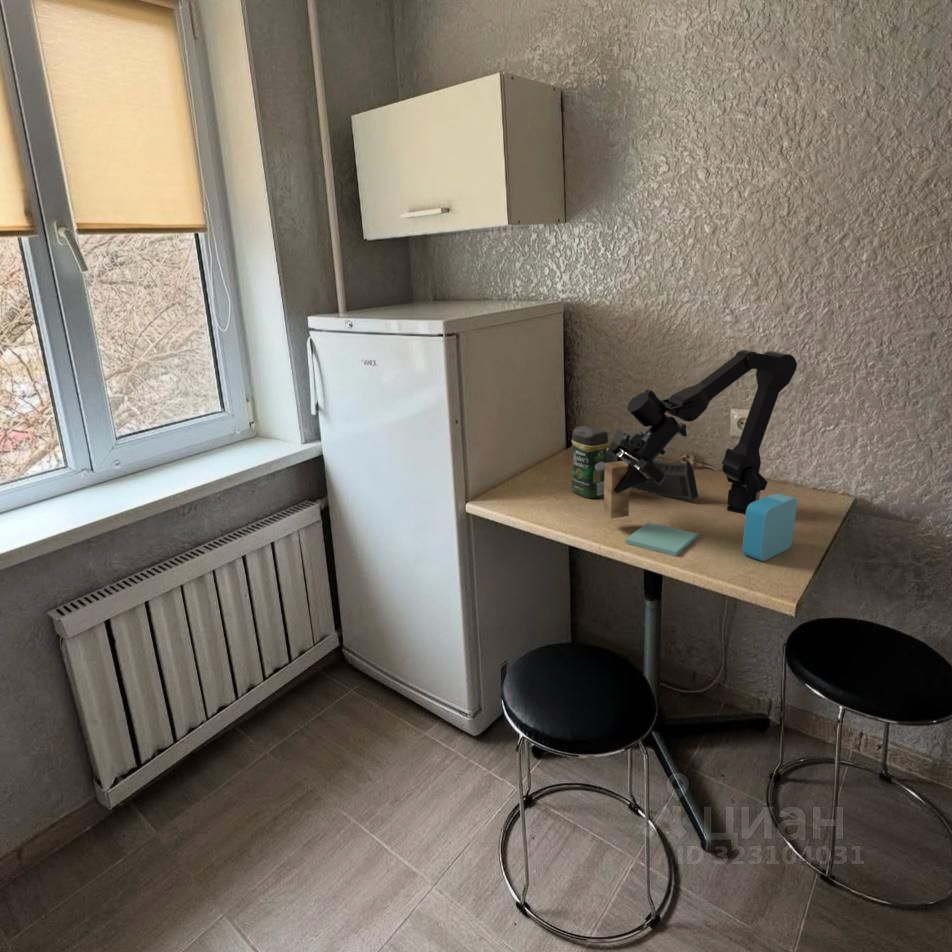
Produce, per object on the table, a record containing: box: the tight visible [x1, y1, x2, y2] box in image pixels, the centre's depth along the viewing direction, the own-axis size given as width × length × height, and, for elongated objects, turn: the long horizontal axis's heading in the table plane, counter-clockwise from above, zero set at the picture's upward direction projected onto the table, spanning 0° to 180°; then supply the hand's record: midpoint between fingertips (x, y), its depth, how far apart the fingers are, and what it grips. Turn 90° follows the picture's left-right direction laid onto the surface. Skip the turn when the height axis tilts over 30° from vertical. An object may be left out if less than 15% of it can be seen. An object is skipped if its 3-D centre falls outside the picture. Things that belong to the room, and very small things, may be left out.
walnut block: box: [603, 461, 630, 519], centre depth 155 cm, size 4×4×12 cm
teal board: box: [624, 521, 698, 557], centre depth 150 cm, size 12×12×1 cm
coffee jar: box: [570, 424, 609, 499], centre depth 177 cm, size 10×8×19 cm
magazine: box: [606, 447, 699, 500], centre depth 179 cm, size 17×3×30 cm
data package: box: [741, 492, 798, 562], centre depth 140 cm, size 12×4×12 cm, turn 125°
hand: (611, 488), depth 154 cm, fingers closed on walnut block, 4 cm apart
